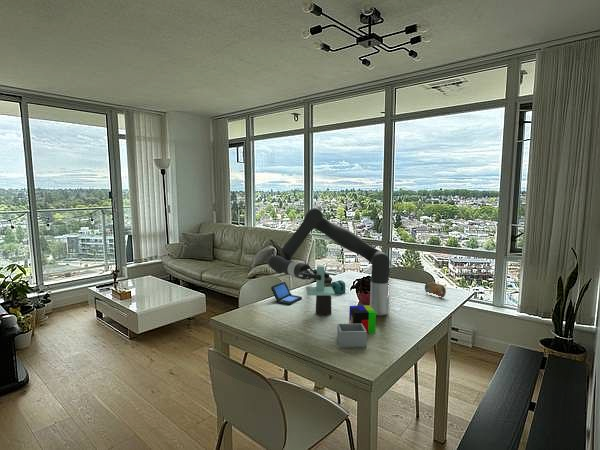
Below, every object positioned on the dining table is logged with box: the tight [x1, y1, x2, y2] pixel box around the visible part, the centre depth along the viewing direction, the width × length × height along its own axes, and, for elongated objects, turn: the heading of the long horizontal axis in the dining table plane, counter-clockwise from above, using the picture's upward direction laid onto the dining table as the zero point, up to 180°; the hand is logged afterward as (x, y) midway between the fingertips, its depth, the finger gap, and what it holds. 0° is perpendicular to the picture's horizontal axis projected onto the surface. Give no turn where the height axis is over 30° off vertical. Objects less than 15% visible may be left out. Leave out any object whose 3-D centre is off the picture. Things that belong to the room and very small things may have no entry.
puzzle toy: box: [348, 304, 377, 334], centre depth 162 cm, size 10×10×10 cm
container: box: [314, 276, 333, 317], centre depth 183 cm, size 9×9×20 cm
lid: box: [305, 265, 336, 296], centre depth 155 cm, size 12×10×12 cm
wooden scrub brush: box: [424, 281, 447, 298], centre depth 215 cm, size 15×3×8 cm, turn 25°
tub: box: [336, 323, 368, 349], centre depth 147 cm, size 11×9×7 cm
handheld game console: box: [270, 281, 303, 306], centre depth 205 cm, size 16×13×9 cm
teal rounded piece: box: [331, 279, 346, 296], centre depth 225 cm, size 18×7×8 cm, turn 42°
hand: (324, 277), depth 153 cm, fingers closed on lid, 4 cm apart
